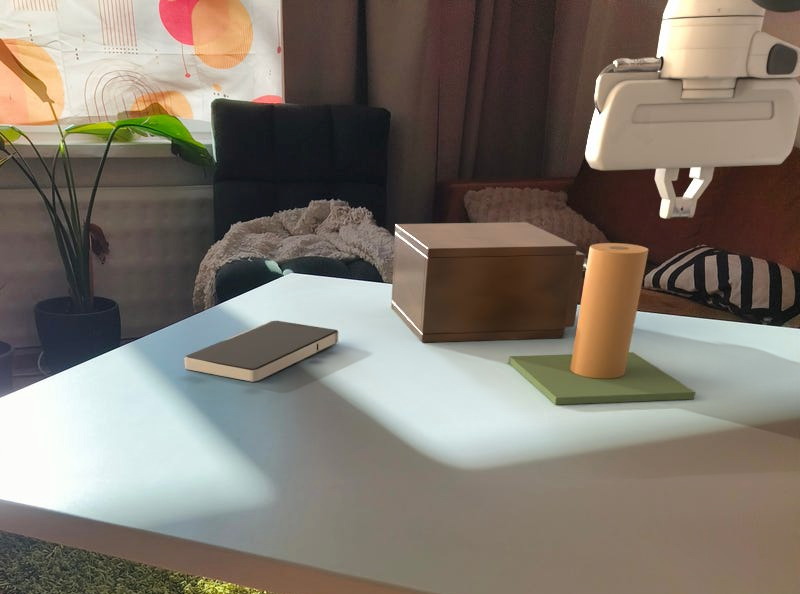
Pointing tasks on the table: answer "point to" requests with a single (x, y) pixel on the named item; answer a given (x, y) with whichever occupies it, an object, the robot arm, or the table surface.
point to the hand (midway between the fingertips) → (676, 217)
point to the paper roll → (608, 309)
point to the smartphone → (261, 350)
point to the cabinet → (481, 281)
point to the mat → (598, 381)
